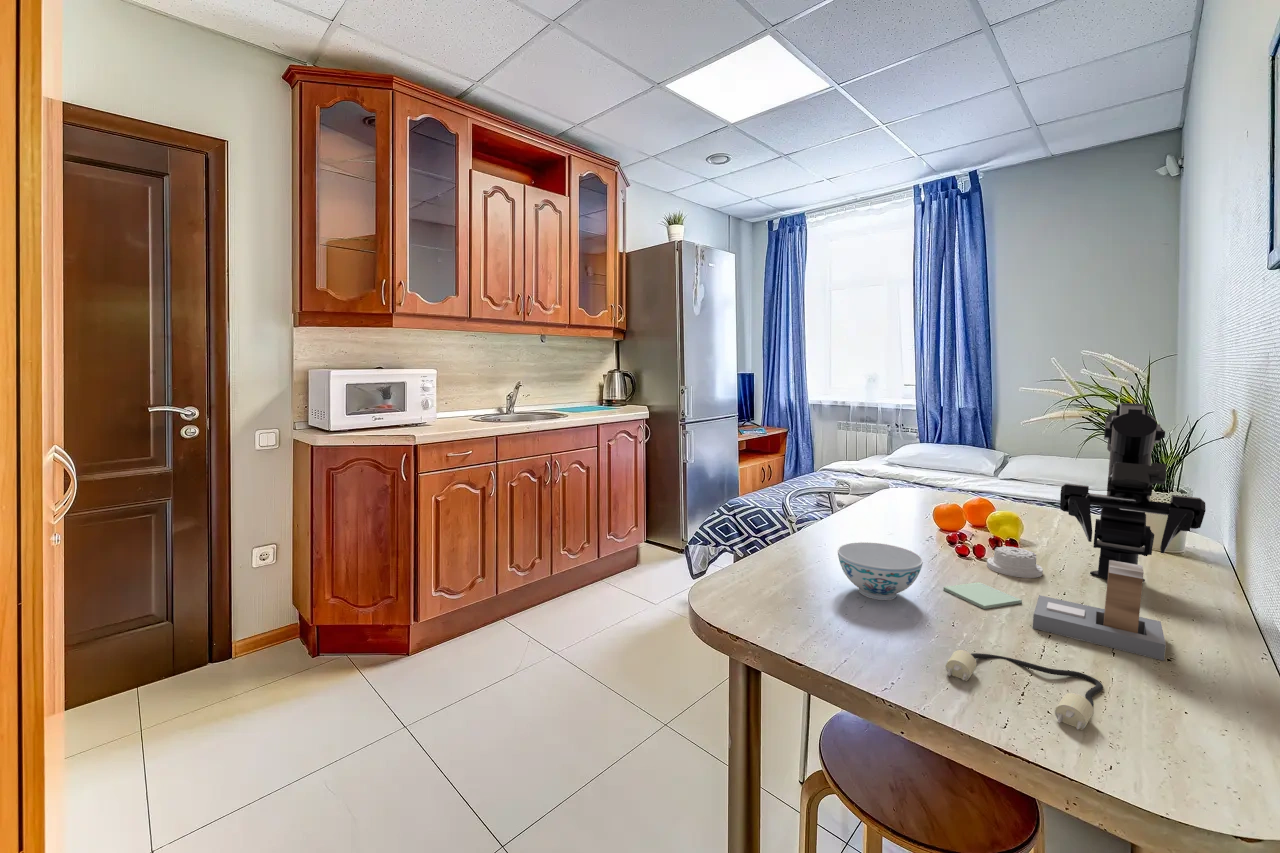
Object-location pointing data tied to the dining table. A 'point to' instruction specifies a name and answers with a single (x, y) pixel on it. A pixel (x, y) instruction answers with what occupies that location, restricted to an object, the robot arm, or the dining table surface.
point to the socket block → (1097, 627)
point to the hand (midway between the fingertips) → (1125, 546)
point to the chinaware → (879, 568)
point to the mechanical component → (1015, 562)
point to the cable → (1072, 705)
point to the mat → (982, 595)
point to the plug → (1123, 596)
